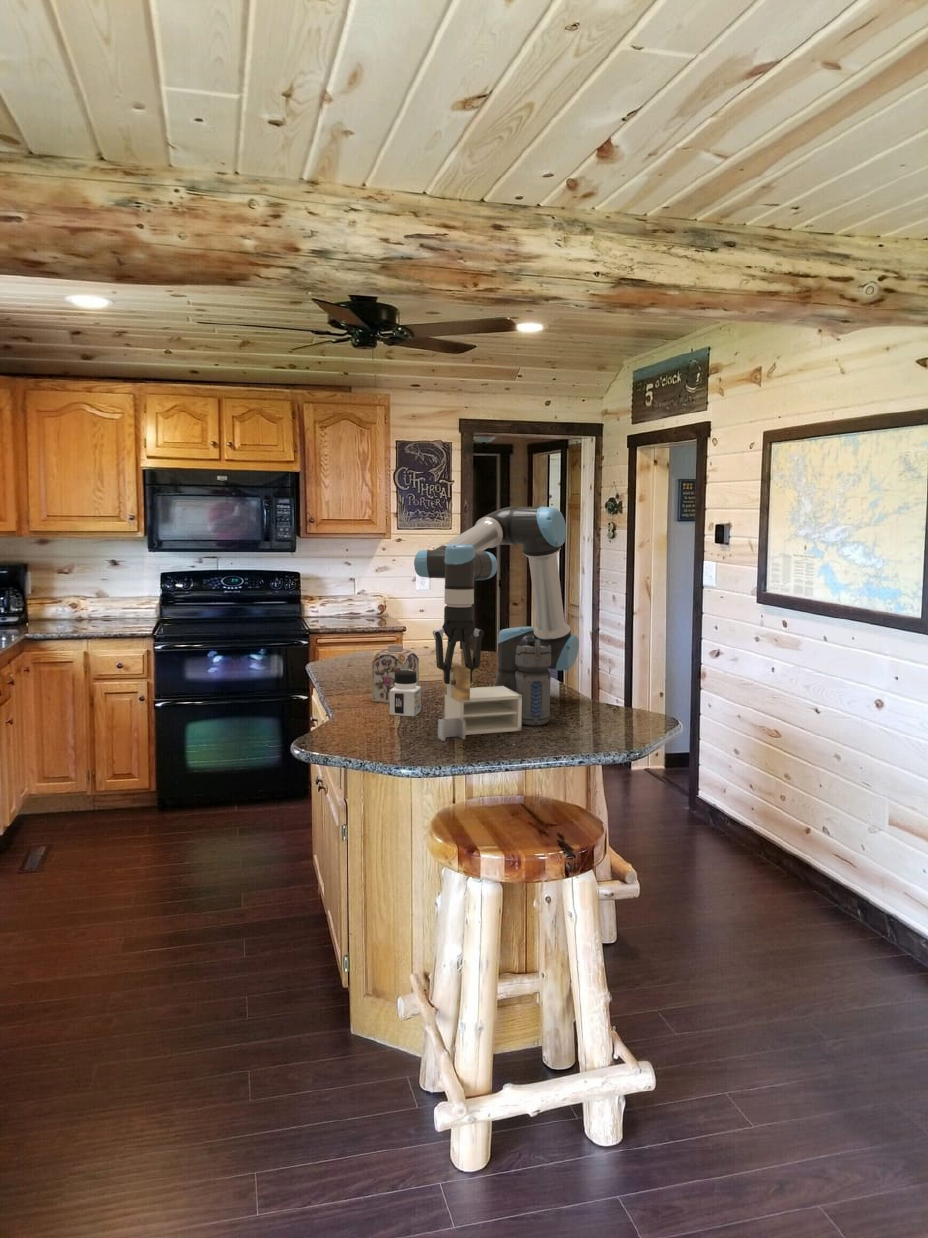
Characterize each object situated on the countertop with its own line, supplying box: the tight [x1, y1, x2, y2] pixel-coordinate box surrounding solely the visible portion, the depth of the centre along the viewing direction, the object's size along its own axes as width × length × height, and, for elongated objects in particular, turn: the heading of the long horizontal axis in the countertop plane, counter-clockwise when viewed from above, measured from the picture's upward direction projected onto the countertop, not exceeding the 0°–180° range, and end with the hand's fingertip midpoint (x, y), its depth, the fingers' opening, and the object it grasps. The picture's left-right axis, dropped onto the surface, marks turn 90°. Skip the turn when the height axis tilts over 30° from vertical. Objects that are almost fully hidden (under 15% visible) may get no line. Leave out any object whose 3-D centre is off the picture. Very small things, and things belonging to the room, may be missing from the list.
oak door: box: [442, 661, 471, 701], centre depth 223 cm, size 4×12×8 cm, turn 19°
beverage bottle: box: [515, 636, 552, 727], centre depth 248 cm, size 10×13×25 cm
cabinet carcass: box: [443, 686, 522, 736], centre depth 242 cm, size 18×14×10 cm
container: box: [389, 670, 422, 717], centre depth 258 cm, size 8×8×13 cm
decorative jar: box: [371, 643, 420, 705], centre depth 276 cm, size 12×12×18 cm
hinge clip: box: [437, 718, 466, 742], centre depth 229 cm, size 6×4×5 cm, turn 109°
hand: (457, 695), depth 222 cm, fingers closed on oak door, 3 cm apart
